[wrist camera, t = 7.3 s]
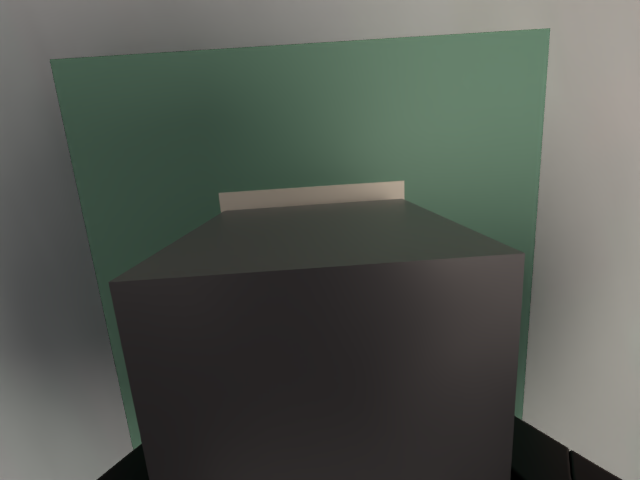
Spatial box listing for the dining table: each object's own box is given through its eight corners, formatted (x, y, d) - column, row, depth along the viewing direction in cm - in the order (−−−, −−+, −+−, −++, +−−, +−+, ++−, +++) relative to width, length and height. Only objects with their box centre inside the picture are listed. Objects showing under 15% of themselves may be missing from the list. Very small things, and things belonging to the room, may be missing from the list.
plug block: (406, 489, 10) (490, 781, 6) (261, 500, 10) (217, 804, 5) (402, 198, 9) (525, 252, 4) (224, 210, 8) (108, 281, 4)
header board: (491, 505, 14) (576, 668, 9) (176, 529, 14) (112, 706, 9) (515, 46, 10) (672, -38, 6) (87, 73, 10) (-86, 8, 6)
